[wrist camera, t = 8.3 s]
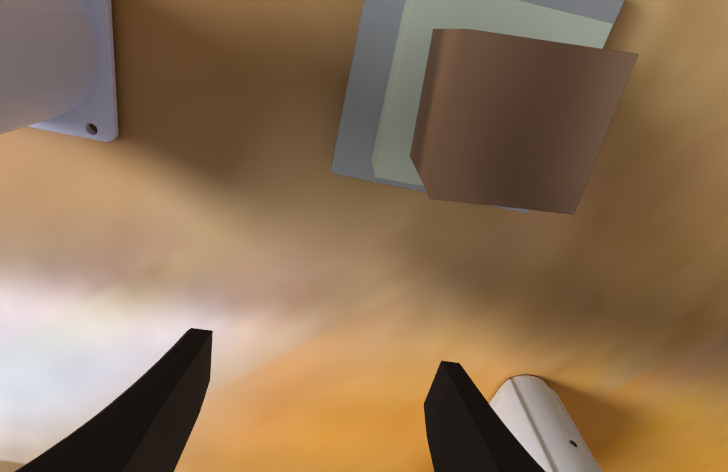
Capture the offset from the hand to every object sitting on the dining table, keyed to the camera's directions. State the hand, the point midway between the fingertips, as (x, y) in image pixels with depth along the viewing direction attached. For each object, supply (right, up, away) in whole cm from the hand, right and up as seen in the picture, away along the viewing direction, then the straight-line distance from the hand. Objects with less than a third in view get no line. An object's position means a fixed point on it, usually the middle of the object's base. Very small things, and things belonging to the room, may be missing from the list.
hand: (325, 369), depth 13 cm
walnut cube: (+6, +9, +2) cm, 11 cm away
